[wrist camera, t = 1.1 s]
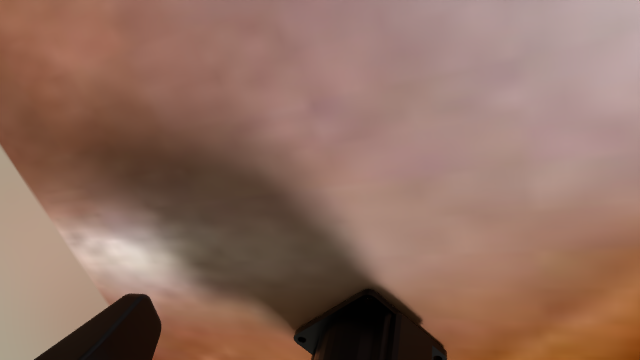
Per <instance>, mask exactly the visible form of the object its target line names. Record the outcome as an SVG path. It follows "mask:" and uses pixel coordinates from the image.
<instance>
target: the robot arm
mask: <svg viewBox="0 0 640 360" xmlns="http://www.w3.org/2000/svg"><path fill="white" fill-rule="evenodd" d="M367 298H370V299H367ZM160 333H161V321H160V318H159V316H158V314H157V312H156V310H155V308H154V306H153V303H152V301H151V299H150V298H149V296H147V295H145V294H127V295H125V296H123V297H122V298H120V299H119V300H117V301H116V302H115V303H113V304H112V305H110V306H109V307H108V308H106V309H105V310H103V311H102V312H101V313H99V314H98V315H96V316H95V317H94V318H92V319H91V320H89V321H88V322H86V323H85V324H84V325H82V326H81V327H79V328H78V329H77V330H75V331H74V332H72V333H71V334H70V335H68V336H67V337H65V338H64V339H62V340H61V341H60V342H58V343H57V344H56V345H54V346H52V347H51V348H50V349H48V350H47V351H45V352H44V353H43V354H41V355H40V356H38V357H37V358H36V359H34V360H152V358H153V355H154V352H155V349H156V346H157V343H158V340H159V337H160ZM294 340H295V342H296V343H297V344H299V345H300V346H301V347H303V348H304V349H305V350H307V351H308V352H309V353H311V354H312V358H311V360H447V352H446V350H445V349H443V348H442V347H441V346H440V345H439V344H438V343H436V342H435V341H434V340H433V339H432V338H430V337H429V336H428V335H427V334H426V333H424V332H423V331H422V330H421V329H420V328H418V327H417V326H416V325H415V324H414V323H413V322H411V321H410V320H409V319H408V318H407V317H405V316H404V315H403V314H402V313H401V312H399V311H398V310H397V309H396V308H395V307H394V306H392V305H391V304H390V303H389V302H388V301H386V300H385V299H384V298H383V297H382V296H380V295H379V294H378V293H377V292H375V291H374V290H371V289H365V290H363V291H361V292H359V293H358V294H356V295H354V296H353V297H351V298H349V299H348V300H346V301H344V302H343V303H341V304H339V305H338V306H336V307H334V308H333V309H331V310H329V311H328V312H326V313H324V314H323V315H321V316H319V317H318V318H316V319H314V320H313V321H311V322H309V323H308V324H306V325H304V326H303V327H301V328H299V329H297V330H296V332H295V335H294Z"/></svg>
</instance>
